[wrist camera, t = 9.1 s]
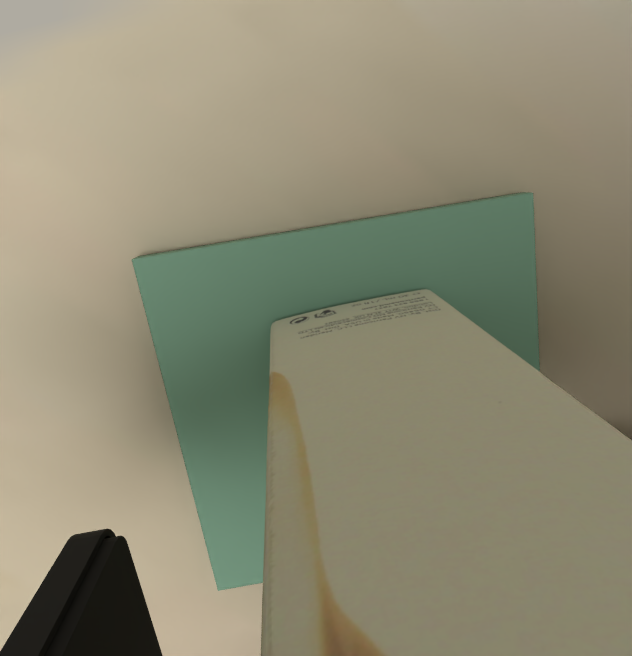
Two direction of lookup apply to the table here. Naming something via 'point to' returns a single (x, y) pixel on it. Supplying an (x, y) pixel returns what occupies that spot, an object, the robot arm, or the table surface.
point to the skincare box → (436, 494)
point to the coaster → (302, 297)
